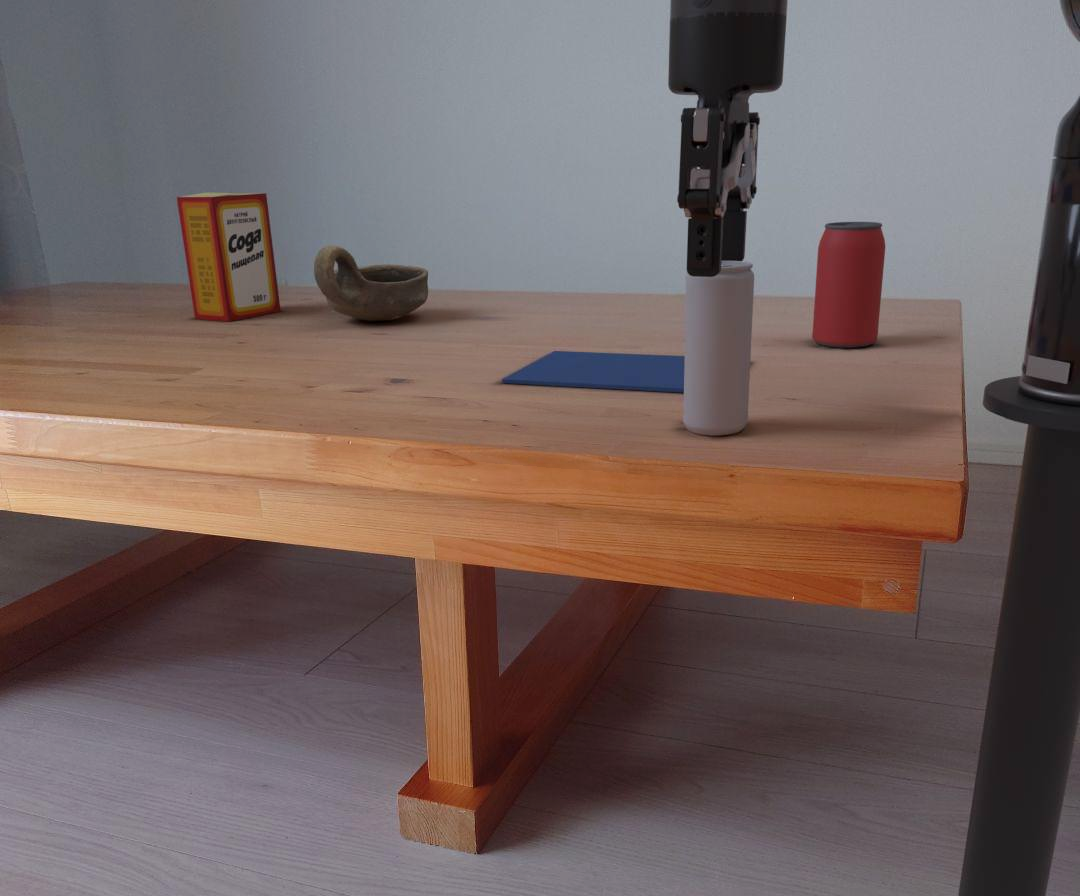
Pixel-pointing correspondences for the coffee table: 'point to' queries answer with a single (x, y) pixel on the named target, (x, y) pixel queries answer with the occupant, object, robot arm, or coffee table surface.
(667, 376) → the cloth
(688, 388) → the beverage can
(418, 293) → the bowl
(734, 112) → the robot arm
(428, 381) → the coffee table surface
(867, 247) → the beer can
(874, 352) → the coffee table surface
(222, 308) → the baking soda box
